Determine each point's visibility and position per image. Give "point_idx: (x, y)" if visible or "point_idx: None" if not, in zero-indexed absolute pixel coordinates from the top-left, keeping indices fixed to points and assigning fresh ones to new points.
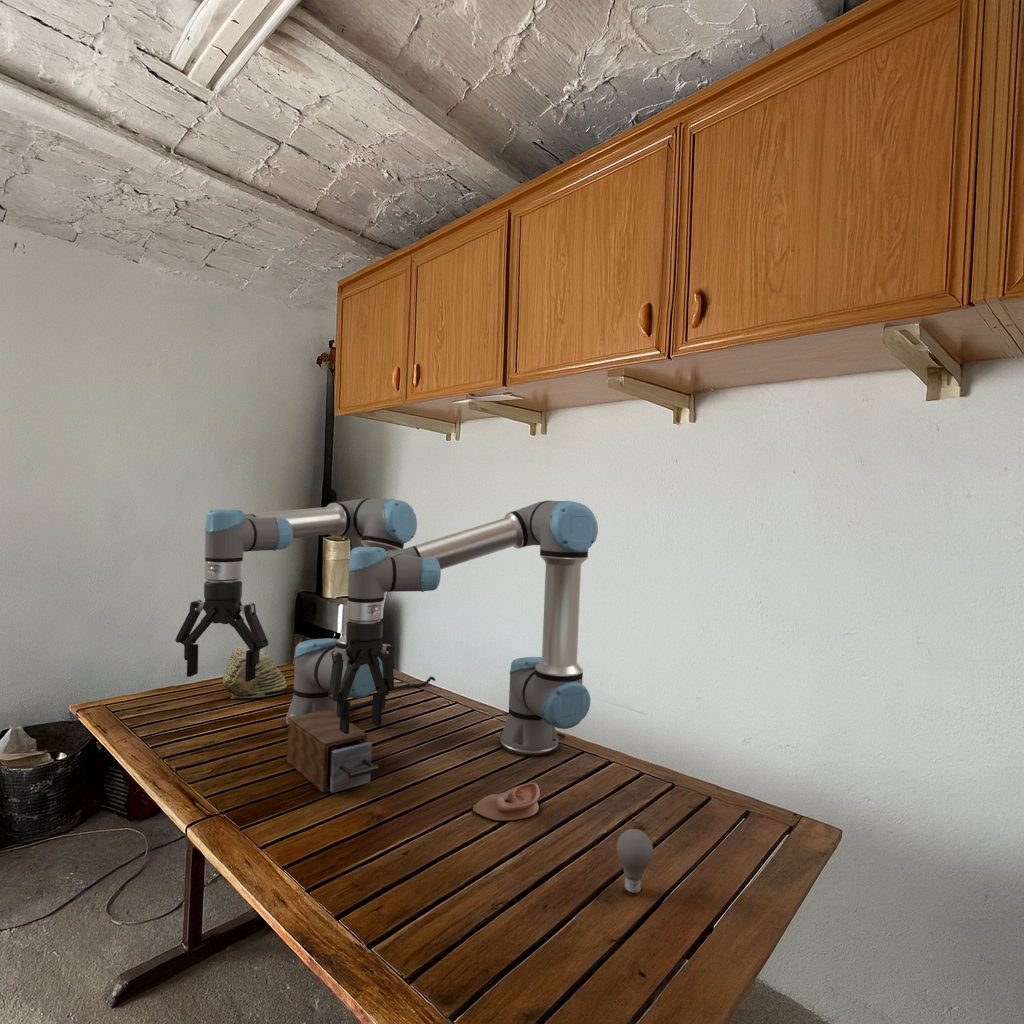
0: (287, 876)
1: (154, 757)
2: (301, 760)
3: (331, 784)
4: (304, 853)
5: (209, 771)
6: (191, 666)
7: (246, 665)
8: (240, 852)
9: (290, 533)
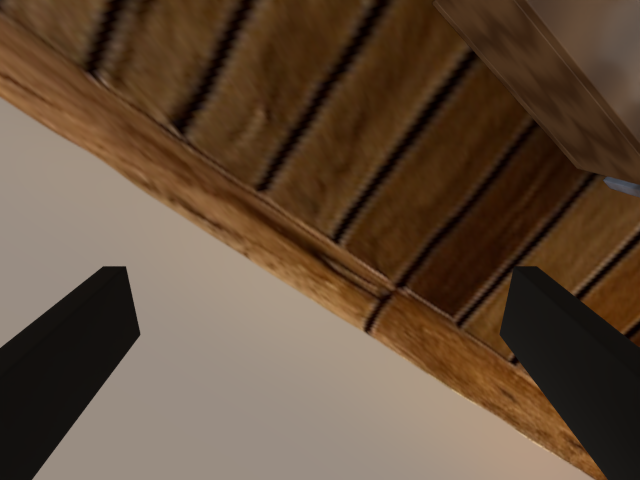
0: None
1: (63, 71)
2: (515, 77)
3: (619, 187)
4: None
5: (262, 120)
6: (105, 366)
7: (562, 410)
8: (486, 377)
9: None
